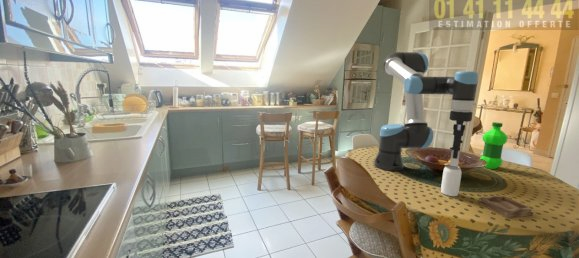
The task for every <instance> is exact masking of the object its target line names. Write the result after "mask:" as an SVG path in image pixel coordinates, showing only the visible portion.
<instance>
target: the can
mask: <svg viewBox="0 0 579 258" xmlns="http://www.w3.org/2000/svg"><path fill="white" fill-rule="evenodd" d="M441 179H442V180H441V187H440V192H441V194H443V195H444V196H447V197H452V198H453V197H458V196H459V194H460V193H459V191H460V187H461V181H462V180H461V179H462V167H460V166H458V167H456V166H450V164H445V166H444V168H443V172H442V178H441Z"/></svg>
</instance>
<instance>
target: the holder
mask: <svg viewBox="0 0 579 258" xmlns="http://www.w3.org/2000/svg"><path fill="white" fill-rule="evenodd" d="M477 203H478V204H479V205H481V206H483V207H485V208H487V209H488V208H489V209H488V210H490V211H492V212H494V213H495V214H498V215H500V216H501V215H502V217H503V216H504V217H503V218H505V219H511V218H512V217H513V218H520V217H521V218H522V217H528V216H529V217H531V216H533V215H534V212H532V210H533V209H532V208H531V207H529V206H528V205H525V204H523V203H521V202H519V201H516V200H514V199H512V198H511V197H507V196H505V195H491V196H490V195H489V196H482V197H480V199H479V200H477Z"/></svg>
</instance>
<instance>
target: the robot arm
mask: <svg viewBox="0 0 579 258" xmlns="http://www.w3.org/2000/svg"><path fill="white" fill-rule="evenodd" d="M428 68H429V59H428V57H427V55H426V54H425V53H423V52H418V51H414V52H413V51H412V52H411V51H410V52H409V51H408V52H404V51H401V52H400V51H399V52H398V51H396V52H392V53H390V54H388V55H387V56H386V57H385V58H384V59H383V62H382V70H383V71H384V72H385V73H386V74H387V75H389V76H393V77H394V78H395V79H397V80H398V81H399V82H400V83H402V84H403V89H404V94H405V97H404V98H405V115H406V121H405V123H404V124H401V123H389V124H388V123H387V124H384V125H382V126H381V127H380V131H379V143H378V152H377V154H376V157H375V158H374V166H375V167H376V168H379V169H380V168H381V169H380V170H384V171H391V172H393V171H394V172H396V171H402V170H403V169H404V160H403V156H402V149H419V150H420V149H427V148H429V147H430V146H431V144H432V143H433V140H434V131H433V129H432V127H430V126H428V122H426V120H425V115H424V114H425V113H424V111H425V110H424V99H423V95H449V96H451V102H450V111H449V120H450V121H453V122H454V121H455V123H453V127H452V128H453V132H452V135H453V141H452V146H451V147H450V148H449V150H451V152H450V153H451V154H450V160H449V161H450V162H449V165H450V166H456V167H459V160H460V154H461V144H463V142H464V140H462V137H463V136H464V134H465V133H464V132H465V130H466V124H464V123H465V122H466V123H467V122H468V123H469V122H472V120H473V114H474V113H473V110H474V106H476V102H475V99H476V94H477V86H478V83H479V81H478V79H479V78H478V77H479V73H478V72H477V71H471V70H470V71H469V70H467V71H463V70H461V71H456V72H455V75H454V76H425V73H426V72H427V71H428Z"/></svg>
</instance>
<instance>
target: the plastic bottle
mask: <svg viewBox="0 0 579 258" xmlns="http://www.w3.org/2000/svg"><path fill="white" fill-rule="evenodd" d="M491 127H492V129H490V130H488V131H486V132H485V133H483V135H482V141H483V142H484V146H483V153H482V155H481V156H480V158H479V160H480V159H483V160H485V161H486V162H487V165H486V166H485V167H484V168H486V169H490V170H495V169H498V168H499V167H500V166H501V165H502V164H503V159H502V153H503V149H504V148H503V147H504V145H505V144H506V143H507V142H508V135H507V134H506V133H505V132H504V131H503V130H501V128H502V127H503V123H502V122H496V121H495V122H492V124H491Z"/></svg>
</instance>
